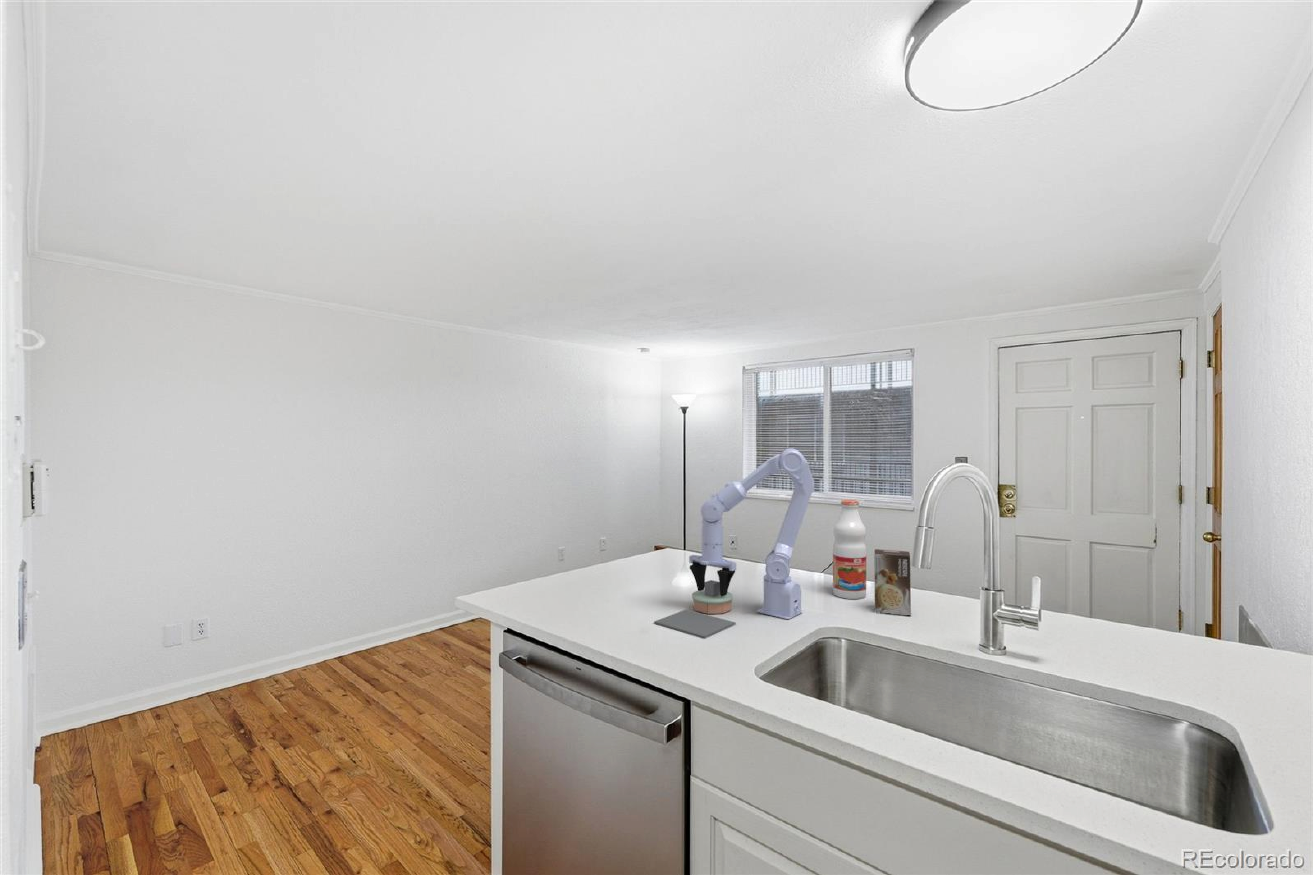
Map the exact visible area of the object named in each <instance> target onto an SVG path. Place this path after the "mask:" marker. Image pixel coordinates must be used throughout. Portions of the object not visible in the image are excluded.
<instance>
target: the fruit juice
mask: <svg viewBox="0 0 1313 875" xmlns="http://www.w3.org/2000/svg"><path fill="white" fill-rule="evenodd" d="M859 504H860V503H859V501H858V500H856V499H855V500H854V499H842V500H840V507H841V511H840V514H839V515H838V516H839V517H838V518H837V520H836V522H835V524H834V526H833V536H834V542H833V548H832V593H833V595H834V596H835V595H836V597H838V598H841V599H848V600H861V599H864V598H865V597H866V595H867V546H866V543H865V539H866V536H867V528H866V526H865V525H864V523H863V521H862V518H861V516H860V513H859V510H858V507H859Z"/></svg>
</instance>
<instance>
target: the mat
mask: <svg viewBox="0 0 1313 875" xmlns="http://www.w3.org/2000/svg"><path fill="white" fill-rule="evenodd" d="M653 624H655V625H657V626H661V627H666V628H668V629H672V630H674V631H679V632H682V633H685V634H688V635H691V636H695V637H698V638H701V639H702V638H703V639H707V638H709V637H711V636H713V635H716V634H718V633H720V632H722V631H724V630H728V628H731V627H733V626H735V625H736V622H735V621H731V620H728V619H724V618H722V617H721V618H720V617H717V616H716V617H715V616H713V615H710V614H706V613H701V612H699V611H695V610H693V611H692V610H691V609H690V610H689V609H684V610H681V611H678V612H675V613H672V614H670V615H668V616H664V617H663V618H659V619H658V620H654V621H653Z"/></svg>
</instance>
